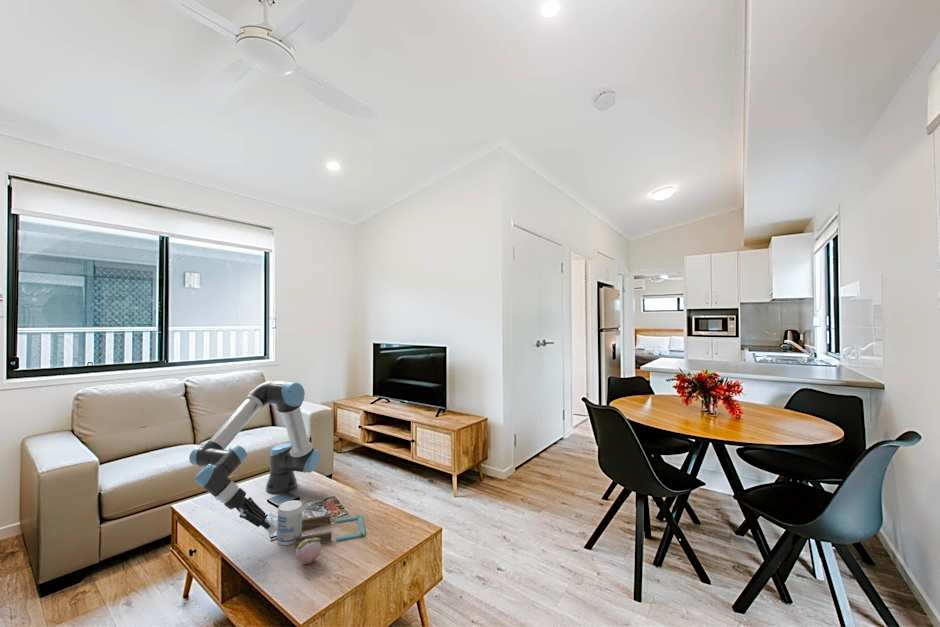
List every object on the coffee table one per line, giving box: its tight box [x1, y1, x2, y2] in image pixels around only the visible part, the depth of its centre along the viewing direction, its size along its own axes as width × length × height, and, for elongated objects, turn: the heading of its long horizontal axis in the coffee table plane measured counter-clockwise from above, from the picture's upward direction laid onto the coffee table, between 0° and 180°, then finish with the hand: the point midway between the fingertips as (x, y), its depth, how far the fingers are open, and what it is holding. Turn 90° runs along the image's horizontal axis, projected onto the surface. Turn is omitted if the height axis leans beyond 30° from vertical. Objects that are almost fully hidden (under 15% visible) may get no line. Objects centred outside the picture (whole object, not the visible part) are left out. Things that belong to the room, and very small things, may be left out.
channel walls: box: [294, 514, 333, 549], centre depth 171 cm, size 16×14×4 cm
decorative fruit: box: [295, 537, 322, 565], centre depth 151 cm, size 9×8×10 cm
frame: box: [334, 514, 366, 542], centre depth 176 cm, size 17×12×1 cm
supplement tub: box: [276, 499, 303, 546], centre depth 166 cm, size 10×10×15 cm
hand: (275, 530), depth 163 cm, fingers closed
